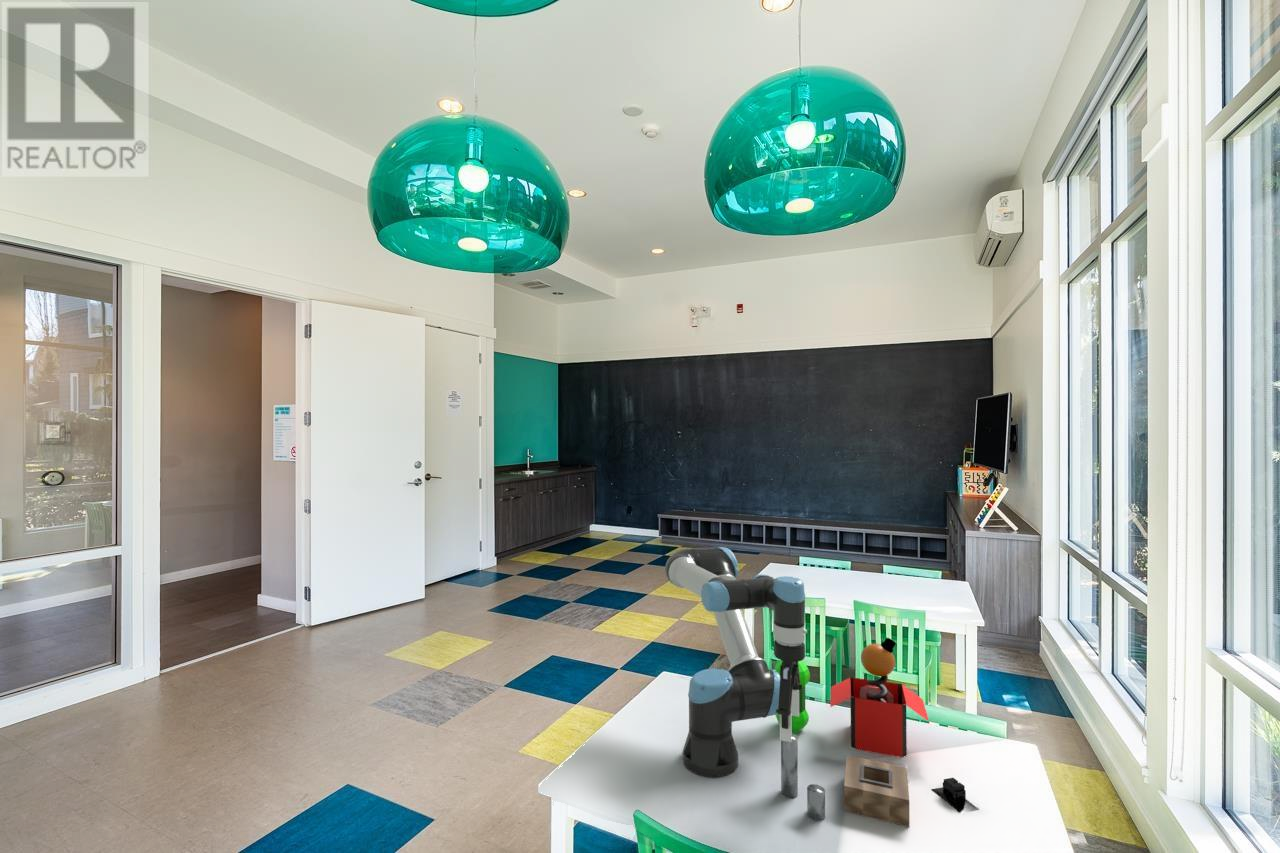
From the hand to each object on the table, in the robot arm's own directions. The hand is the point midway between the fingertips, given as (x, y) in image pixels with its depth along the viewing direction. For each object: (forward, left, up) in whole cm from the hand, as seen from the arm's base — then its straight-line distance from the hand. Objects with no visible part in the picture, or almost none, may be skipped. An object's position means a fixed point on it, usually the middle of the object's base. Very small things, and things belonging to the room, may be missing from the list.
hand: (789, 727), depth 143 cm
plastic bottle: (-4, +33, -17) cm, 37 cm away
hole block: (+20, +5, -16) cm, 26 cm away
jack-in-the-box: (+20, +36, -17) cm, 44 cm away
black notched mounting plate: (+37, +14, -17) cm, 43 cm away
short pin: (+7, -6, -16) cm, 19 cm away
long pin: (0, 0, -16) cm, 16 cm away
